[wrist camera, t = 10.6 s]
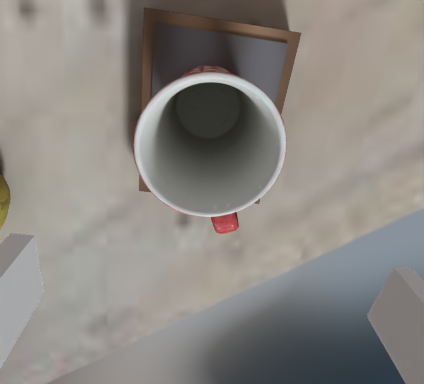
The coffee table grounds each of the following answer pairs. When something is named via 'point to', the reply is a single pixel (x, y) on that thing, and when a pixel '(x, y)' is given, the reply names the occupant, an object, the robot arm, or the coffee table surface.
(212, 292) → the coffee table surface
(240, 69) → the stand
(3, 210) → the fruit
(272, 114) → the mug
